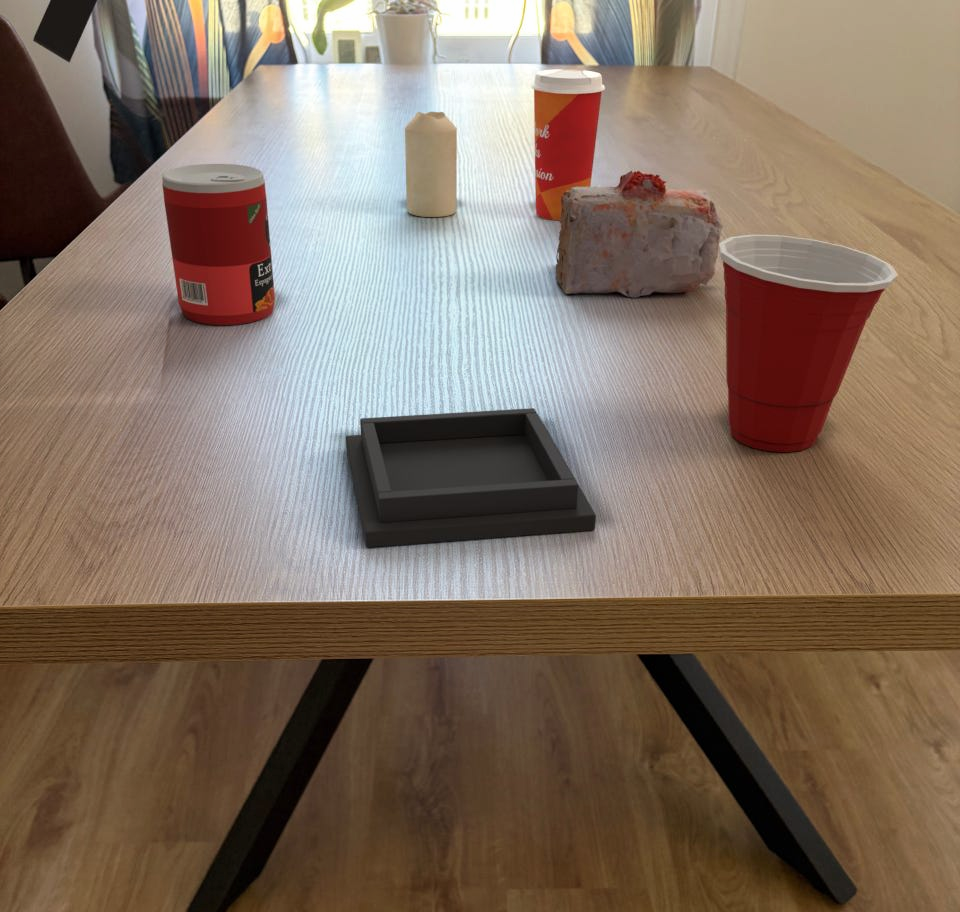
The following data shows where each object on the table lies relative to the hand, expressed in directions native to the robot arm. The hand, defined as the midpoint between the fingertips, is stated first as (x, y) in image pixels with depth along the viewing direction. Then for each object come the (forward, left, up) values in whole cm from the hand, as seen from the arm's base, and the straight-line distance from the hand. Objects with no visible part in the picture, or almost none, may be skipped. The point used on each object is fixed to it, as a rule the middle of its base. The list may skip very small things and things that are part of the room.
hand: (59, 18), depth 76 cm
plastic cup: (+45, -25, -22) cm, 56 cm away
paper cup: (+45, +35, -22) cm, 61 cm away
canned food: (+9, +6, -22) cm, 25 cm away
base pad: (+23, -30, -22) cm, 44 cm away
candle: (+31, +38, -22) cm, 54 cm away
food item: (+45, +8, -22) cm, 51 cm away
